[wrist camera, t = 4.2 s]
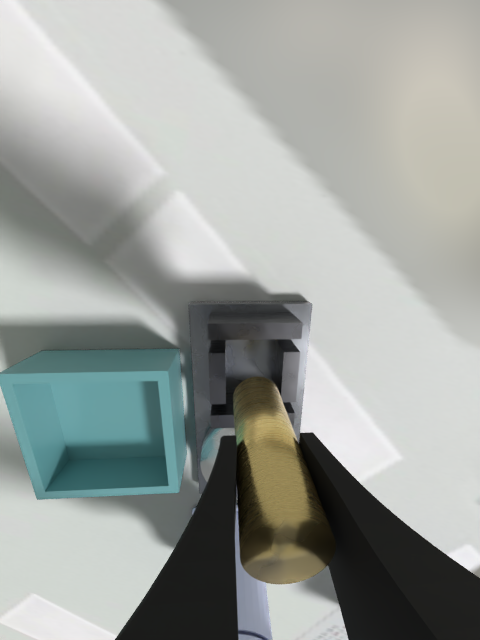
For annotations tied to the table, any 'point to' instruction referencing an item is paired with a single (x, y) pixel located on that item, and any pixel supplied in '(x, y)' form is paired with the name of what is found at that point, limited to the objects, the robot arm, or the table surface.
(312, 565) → the pin
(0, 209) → the table surface
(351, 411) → the table surface
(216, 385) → the plate
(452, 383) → the table surface
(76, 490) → the tray
